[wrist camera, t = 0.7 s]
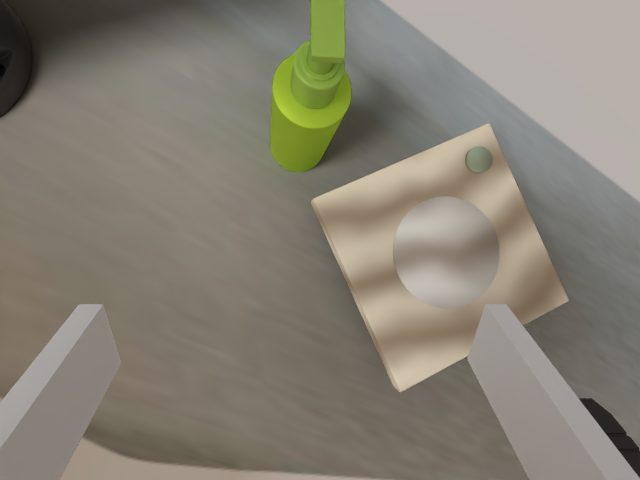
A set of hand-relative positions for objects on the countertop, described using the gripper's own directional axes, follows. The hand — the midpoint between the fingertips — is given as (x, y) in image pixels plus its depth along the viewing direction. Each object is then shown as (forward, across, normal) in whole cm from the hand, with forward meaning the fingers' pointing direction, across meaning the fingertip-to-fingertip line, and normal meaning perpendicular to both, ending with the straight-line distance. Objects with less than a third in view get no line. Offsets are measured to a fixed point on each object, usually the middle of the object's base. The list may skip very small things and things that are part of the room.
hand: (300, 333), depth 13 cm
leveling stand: (+25, +14, -12) cm, 31 cm away
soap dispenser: (+31, 0, -1) cm, 31 cm away
